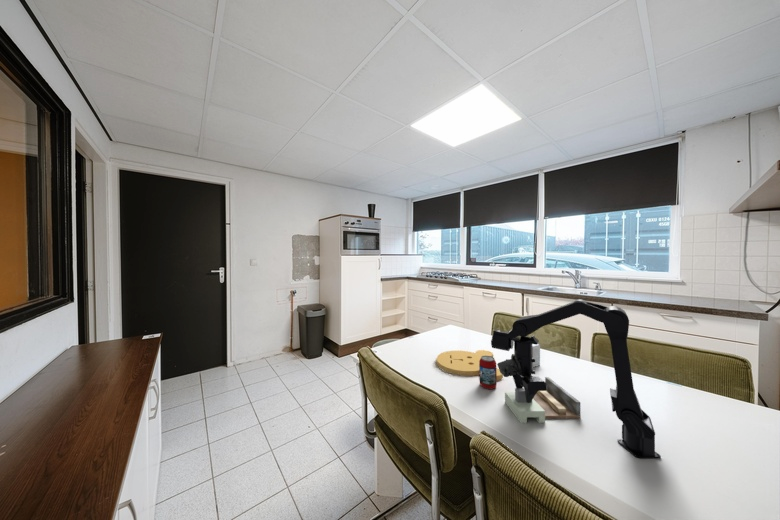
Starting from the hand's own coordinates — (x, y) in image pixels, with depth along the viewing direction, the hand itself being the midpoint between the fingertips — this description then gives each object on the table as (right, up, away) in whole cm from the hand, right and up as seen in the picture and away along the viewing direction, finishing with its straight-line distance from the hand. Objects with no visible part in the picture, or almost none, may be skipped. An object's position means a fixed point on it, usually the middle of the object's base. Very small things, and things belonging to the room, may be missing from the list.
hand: (523, 397), depth 91 cm
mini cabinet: (0, -5, 0) cm, 5 cm away
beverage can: (-6, -5, +18) cm, 20 cm away
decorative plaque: (-8, -5, +40) cm, 41 cm away
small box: (+24, -4, +40) cm, 46 cm away
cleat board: (+11, -5, +5) cm, 13 cm away
